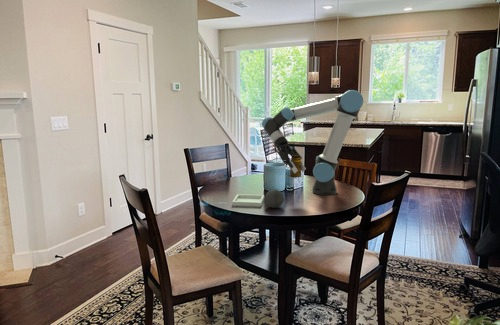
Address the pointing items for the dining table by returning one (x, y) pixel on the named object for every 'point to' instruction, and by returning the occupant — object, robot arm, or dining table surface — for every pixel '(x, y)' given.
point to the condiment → (297, 162)
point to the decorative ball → (274, 198)
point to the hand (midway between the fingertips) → (300, 171)
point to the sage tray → (248, 200)
